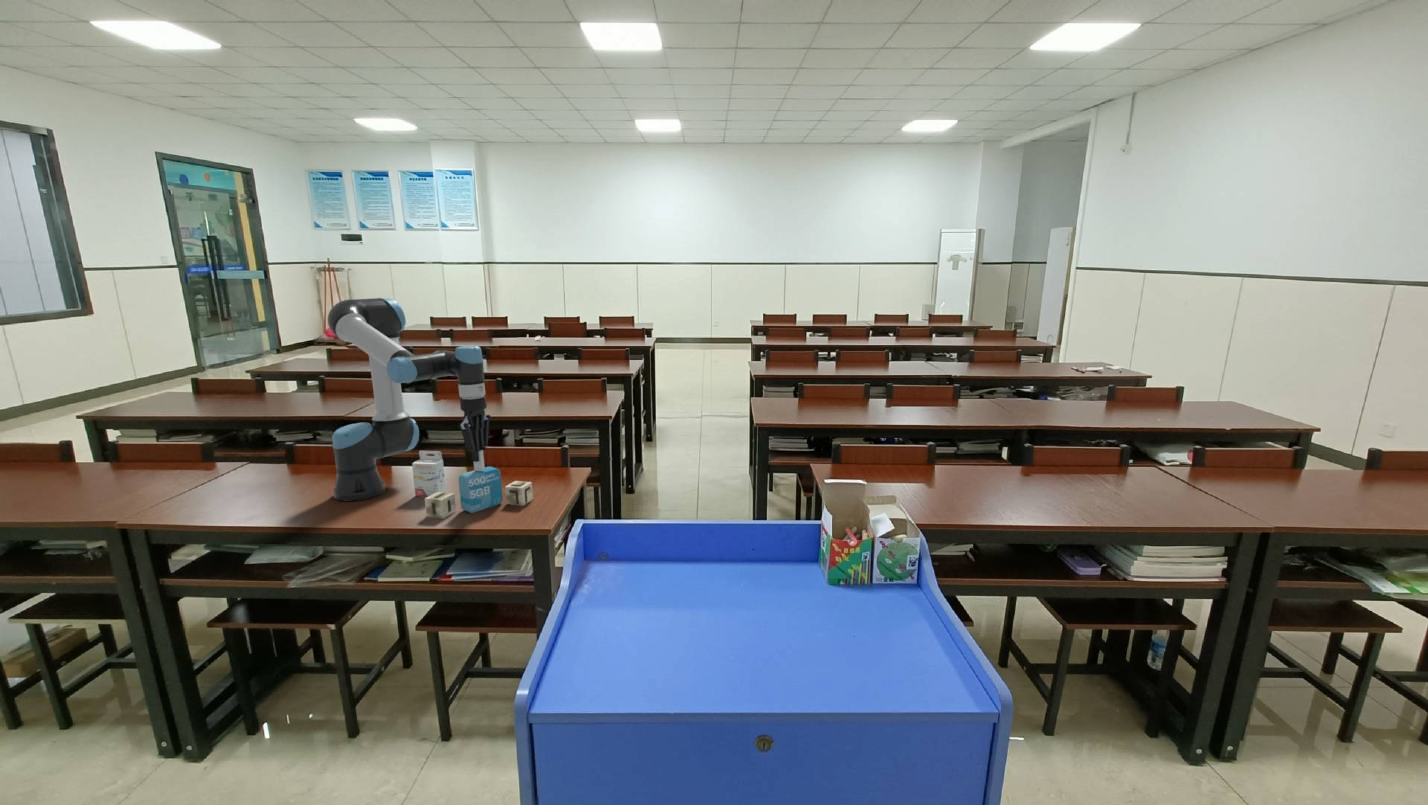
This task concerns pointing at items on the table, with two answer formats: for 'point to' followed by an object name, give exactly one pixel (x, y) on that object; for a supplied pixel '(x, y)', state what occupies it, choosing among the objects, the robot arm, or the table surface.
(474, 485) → the data package
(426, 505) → the maple block one
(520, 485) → the maple block seven
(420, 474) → the ink cartridge box
